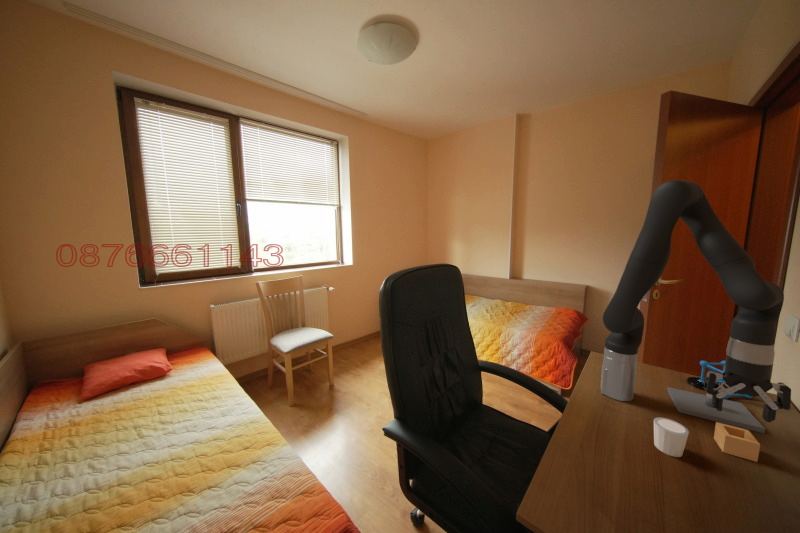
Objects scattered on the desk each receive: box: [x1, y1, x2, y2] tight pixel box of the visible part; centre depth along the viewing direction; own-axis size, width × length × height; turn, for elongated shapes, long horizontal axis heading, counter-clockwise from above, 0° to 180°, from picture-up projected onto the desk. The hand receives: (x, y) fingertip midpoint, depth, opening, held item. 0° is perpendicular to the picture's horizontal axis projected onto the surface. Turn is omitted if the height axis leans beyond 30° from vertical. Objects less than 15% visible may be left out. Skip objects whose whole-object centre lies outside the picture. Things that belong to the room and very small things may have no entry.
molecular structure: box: [697, 360, 753, 399], centre depth 99 cm, size 10×10×10 cm
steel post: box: [705, 392, 714, 408], centre depth 90 cm, size 2×2×6 cm
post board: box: [666, 386, 766, 434], centre depth 90 cm, size 18×14×2 cm
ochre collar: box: [713, 421, 761, 463], centre depth 74 cm, size 6×6×5 cm
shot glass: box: [653, 417, 690, 458], centre depth 74 cm, size 7×7×7 cm
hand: (741, 414), depth 73 cm, fingers open, 8 cm apart
